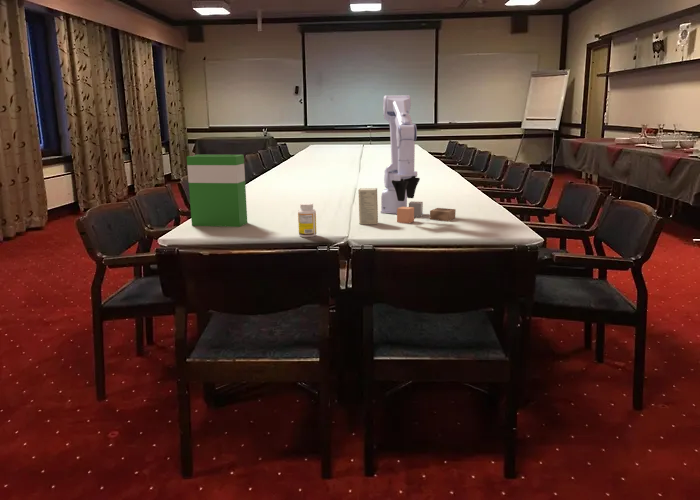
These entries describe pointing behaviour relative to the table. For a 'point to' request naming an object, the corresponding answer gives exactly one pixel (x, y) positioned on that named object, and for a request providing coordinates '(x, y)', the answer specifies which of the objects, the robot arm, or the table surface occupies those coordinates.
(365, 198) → the skincare box
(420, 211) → the grey block
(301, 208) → the supplement bottle
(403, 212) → the rust block
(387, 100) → the robot arm
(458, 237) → the table surface
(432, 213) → the walnut slab
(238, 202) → the cereal box
